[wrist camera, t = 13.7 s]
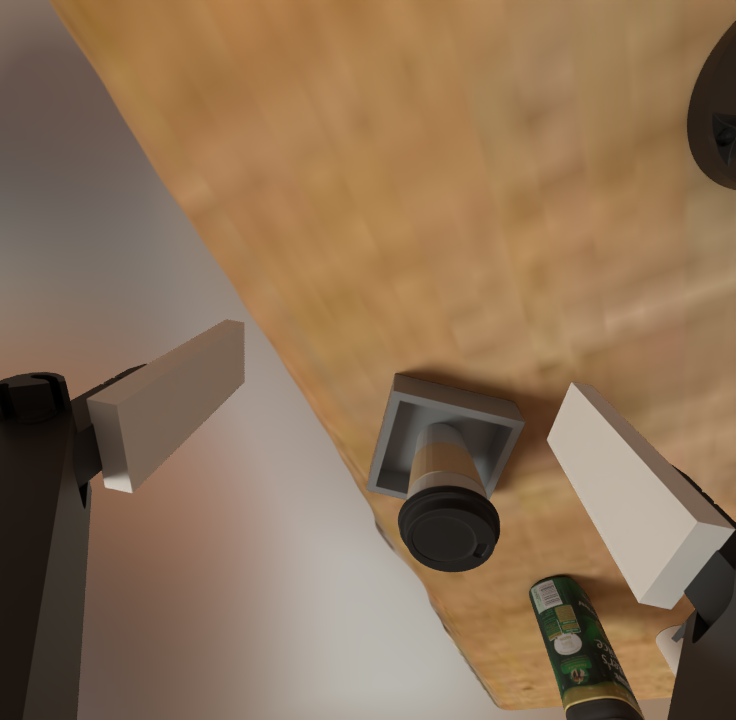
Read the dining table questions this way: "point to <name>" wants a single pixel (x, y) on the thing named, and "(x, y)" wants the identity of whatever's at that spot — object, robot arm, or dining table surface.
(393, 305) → the dining table surface
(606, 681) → the coffee jar
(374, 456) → the tray
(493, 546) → the coffee cup
